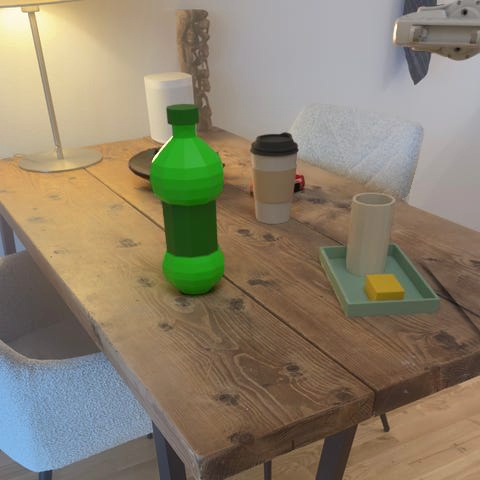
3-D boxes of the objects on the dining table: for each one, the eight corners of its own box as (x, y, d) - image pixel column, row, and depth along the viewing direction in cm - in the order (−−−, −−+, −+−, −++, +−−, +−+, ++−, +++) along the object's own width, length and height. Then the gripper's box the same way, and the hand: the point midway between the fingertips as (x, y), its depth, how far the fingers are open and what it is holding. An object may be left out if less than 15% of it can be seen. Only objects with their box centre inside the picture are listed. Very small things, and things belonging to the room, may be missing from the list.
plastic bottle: (217, 305, 84) (208, 116, 68) (151, 297, 86) (128, 112, 70) (236, 277, 91) (232, 101, 75) (175, 271, 94) (159, 99, 78)
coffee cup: (269, 229, 108) (270, 143, 98) (241, 216, 113) (240, 134, 104) (304, 219, 112) (309, 135, 102) (276, 207, 118) (278, 127, 108)
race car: (257, 200, 122) (257, 181, 119) (245, 193, 125) (244, 174, 123) (308, 190, 126) (309, 171, 124) (295, 184, 130) (296, 165, 128)
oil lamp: (218, 164, 145) (216, 131, 140) (235, 200, 122) (234, 162, 117) (130, 170, 142) (126, 136, 137) (130, 207, 119) (125, 169, 114)
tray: (318, 261, 95) (319, 246, 94) (393, 257, 96) (396, 242, 94) (346, 321, 79) (348, 304, 78) (436, 316, 80) (440, 299, 78)
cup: (379, 260, 94) (388, 191, 87) (389, 275, 89) (400, 204, 82) (341, 262, 94) (348, 193, 87) (350, 277, 89) (358, 206, 82)
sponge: (364, 290, 85) (366, 274, 84) (390, 289, 85) (392, 273, 84) (374, 308, 81) (377, 292, 79) (402, 307, 81) (405, 291, 79)
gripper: (524, 53, 95) (508, 63, 86) (405, 49, 103) (379, 57, 94) (535, 7, 91) (520, 12, 82) (411, 6, 100) (385, 11, 90)
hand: (444, 36), depth 88 cm, fingers open, 8 cm apart
